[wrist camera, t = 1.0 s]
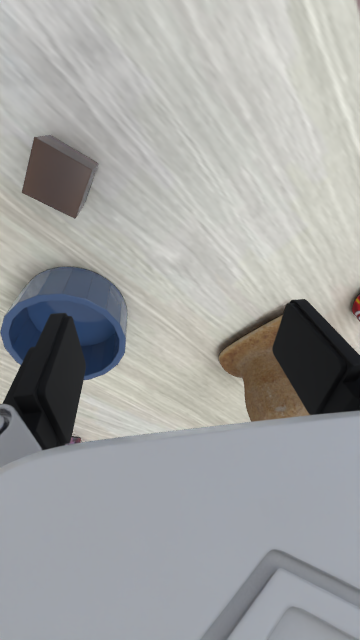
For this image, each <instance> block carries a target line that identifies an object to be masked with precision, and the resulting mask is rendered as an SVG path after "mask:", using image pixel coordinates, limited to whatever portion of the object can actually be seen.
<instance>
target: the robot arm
mask: <svg viewBox="0 0 360 640" xmlns="http://www.w3.org/2000/svg"><path fill="white" fill-rule="evenodd" d="M272 351H273V354H274V356H275V358H276V359H277V361H278V363H279V364H280V366H281V368H282V369H283V371H284V373H285V375H286V376H287V378H288V380H289V381H290V383H291V385H292V386H293V388H294V390H295V391H296V393H297V395H298V396H299V398H300V400H301V402H302V403H303V405H304V407H305V408H306V410H307V412H308V413H309V414H310V415H309V416H299V417H290V418H281V419H272V420H263V421H254V422H245V423H236V424H228V425H219V426H210V427H202V428H193V429H184V430H176V431H168V432H159V433H151V434H143V435H134V436H126V437H118V438H111V439H104V440H96V441H89V442H82V443H76V444H70V445H65V444H69V443H70V441H71V437H72V432H73V427H74V423H75V418H76V413H77V408H78V403H79V399H80V394H81V389H82V384H83V380H84V375H85V370H86V363H85V359H84V355H83V352H82V348H81V345H80V341H79V338H78V335H77V331H76V328H75V324H74V321H73V318H72V316H68V315H67V314H66V313H54V314H50V316H49V318H48V320H47V322H46V324H45V326H44V329H43V331H42V333H41V335H40V337H39V340H38V342H37V344H36V346H35V347H31V348H30V349H29V350H28V352H27V354H26V356H25V358H24V360H23V362H22V364H21V366H20V368H19V371H18V373H17V375H16V377H15V379H14V381H13V383H12V385H11V387H10V389H9V391H8V393H7V396H6V398H5V400H4V402H3V404H0V640H360V355H359V354H358V353H357V352H356V351H355V350H354V349H353V348H352V347H351V346H350V345H349V344H348V343H347V342H346V341H345V340H344V339H343V337H342V336H341V335H340V334H339V333H338V332H337V331H336V330H335V329H334V328H333V327H332V326H331V325H330V324H329V323H328V322H327V321H326V320H325V319H324V318H323V317H322V316H321V315H320V314H319V313H318V312H317V310H316V309H315V308H314V307H313V306H312V305H311V304H310V303H309V302H308V301H307V300H305V299H300V300H291V301H290V303H288V304H287V305H286V307H285V310H284V313H283V316H282V319H281V322H280V325H279V328H278V332H277V335H276V338H275V341H274V344H273V347H272Z"/></svg>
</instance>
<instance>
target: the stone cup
mask: <svg viewBox="0 0 360 640" xmlns="http://www.w3.org/2000/svg"><path fill="white" fill-rule="evenodd" d="M282 316H283V315H281V316H280V317H278V318H276V319H274V320H272V321H270V322H268V323H266V324H265V325H263V326H261V327H259V328H257V329H256V330H254V331H252V332H250V333H249V334H247V335H245V336H244V337H242V338H241V339H239V340H237V341H236V342H234V343H233V344H231V345H229V346H228V347H226V348H225V349H224V350H223V351H222V352H221V353H220V355H219V361H220V364H221V365H222V367H223V369H224V370H225V371H226V372H228V373H229V374H231V375H233V376H235V377H240V378H241V377H242V378H243V381H244V388H245V403H246V408H247V412H248V414H249V417H250V420H251V422H254V421H263V420H272V419H281V418H290V417H299V416H309V415H310V414H309V413H308V412H307V410H306V408H305V407H304V405H303V403H302V402H301V400H300V398H299V396H298V395H297V393H296V391H295V390H294V388H293V386H292V385H291V383H290V381H289V380H288V378H287V376H286V375H285V373H284V371H283V369H282V368H281V366H280V364H279V363H278V361H277V359H276V358H275V356H274V354H273V351H272V347H273V344H274V341H275V338H276V335H277V332H278V328H279V325H280V322H281V319H282Z"/></svg>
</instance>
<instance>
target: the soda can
mask: <svg viewBox="0 0 360 640" xmlns="http://www.w3.org/2000/svg"><path fill="white" fill-rule="evenodd" d="M352 312H353V314H354V315H355V316H356V318H357V319H358V320H359V321H360V294H359V295H358V297H357V298H356V300H355V302H354V304H353V307H352Z"/></svg>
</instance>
